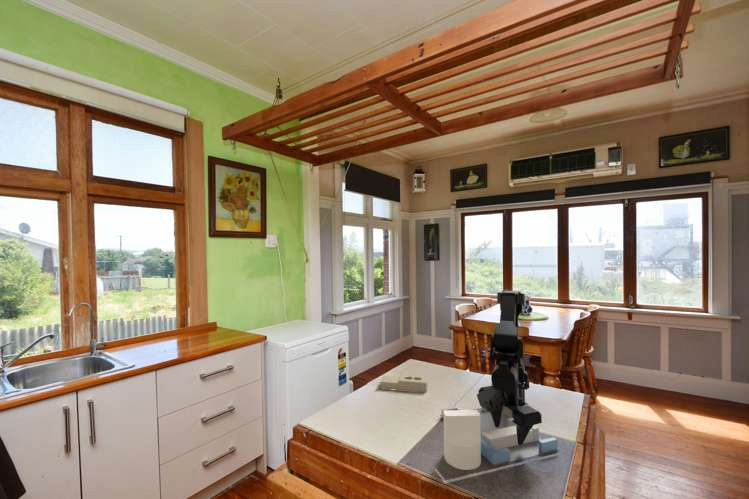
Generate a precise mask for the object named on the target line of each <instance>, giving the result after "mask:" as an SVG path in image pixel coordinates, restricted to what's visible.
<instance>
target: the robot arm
mask: <svg viewBox="0 0 749 499" xmlns="http://www.w3.org/2000/svg"><path fill="white" fill-rule="evenodd" d="M525 296H526V294H525V293H523V292H522V291H521V290H501V291H500V292H499V291H498V292H497V293H496V297H497V298H496V302H497V304H498V305H499V309H500V317H499V323H498V324H497V325H495V327H494V330H493V334H491V335H490V347H489V348H490V349H489V360H491V361H492V360H494V361H495V366H494V368H493V371H492V372H491V377H490V379H491V380H490V381H491V385H488V386H482V387H481V386H480V388H479V389H478V393H477V394H476V398H477V400H478V403H479V406H480V408H482V407H483V408H484V409H486V411H488V412H490V413H491V416H492V419H493V422H494V425H495V427H496V428H497V427H499V425H500V421H501V416H502V413H503V409H504V407H506V408H507V409H509V410H511V418H513V419H514V420H512V422H513V423H514V424H515V425H516V430H517V440H518V444H519V445H522V444H523V442H524V440H525V439H526V437H527V435H528V433H529V431H530V430H531V428H532V427H533V425H535V426H537V425H538V424H542V422H543V420H542V418H543V417H542V413H541V412H540V411H539V410H537V409H535V408H534V407H532V406H530V405H529V404H528V403H527V402H526V396H525V394H526V393H525V392H526V391H527V390H528V389H530V376H529V374H528V373H527V371H525V364H524V362H523V359H524V355H525V354H524V349H525V348H524V347H525V346H524V343H525V342H524V341H523V338H522V337H520V336H519V334H520V332H519V328H520V327H519V316H520V315H521V313H522V312H523V309H524V307H523V306H525V304H526V298H525ZM525 390H526V391H525Z"/></svg>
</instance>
